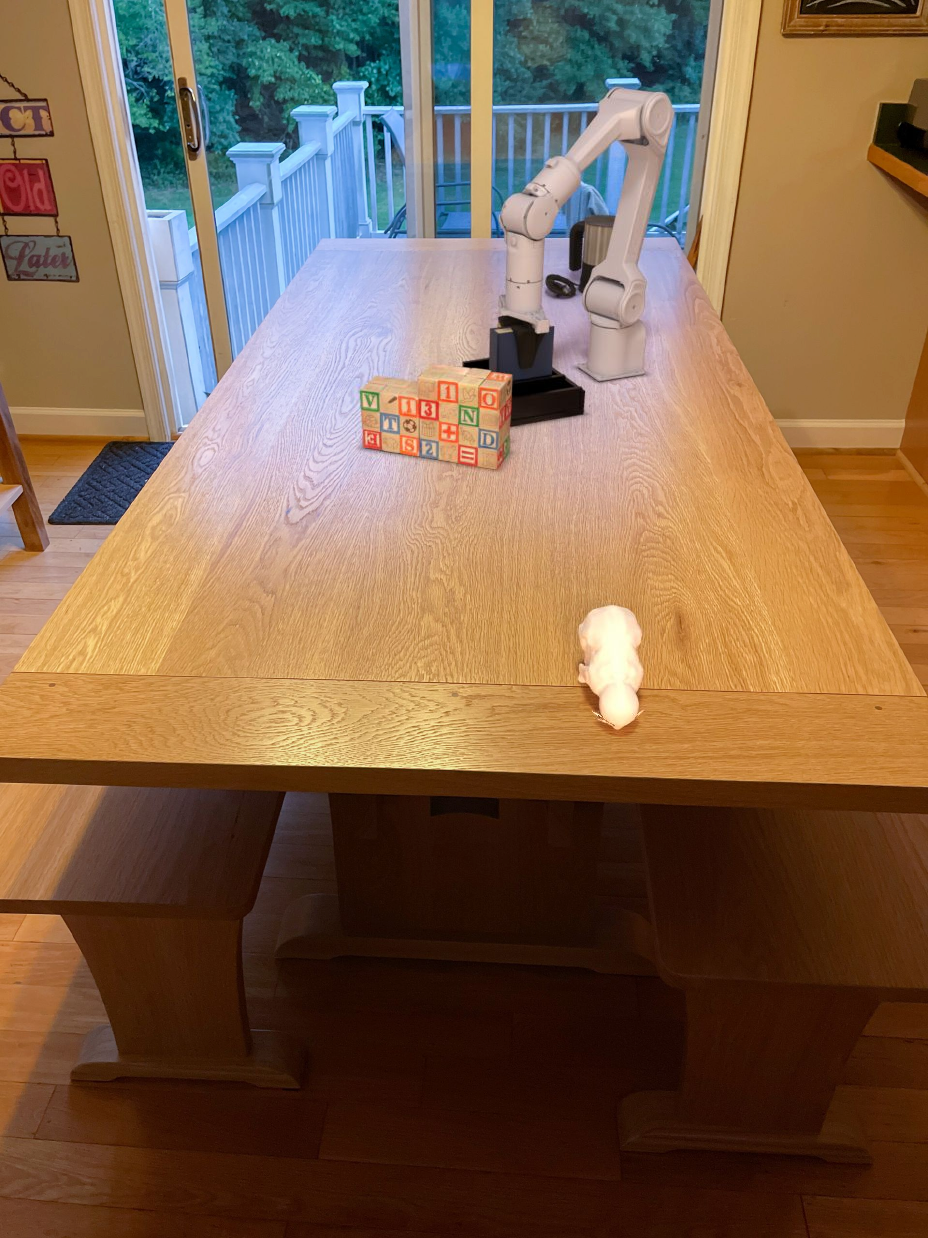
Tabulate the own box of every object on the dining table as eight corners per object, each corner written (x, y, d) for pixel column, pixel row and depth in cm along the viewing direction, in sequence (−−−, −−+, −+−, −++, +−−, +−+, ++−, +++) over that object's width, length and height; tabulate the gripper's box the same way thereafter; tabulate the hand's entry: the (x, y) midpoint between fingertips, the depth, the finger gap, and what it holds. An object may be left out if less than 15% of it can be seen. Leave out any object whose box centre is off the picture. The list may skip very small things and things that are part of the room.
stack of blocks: (361, 448, 145) (357, 369, 138) (378, 432, 150) (374, 354, 143) (498, 470, 139) (500, 388, 132) (510, 452, 144) (513, 372, 137)
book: (543, 368, 161) (546, 320, 156) (551, 374, 158) (554, 326, 154) (488, 376, 158) (489, 328, 153) (496, 383, 155) (497, 333, 151)
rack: (533, 375, 170) (534, 350, 167) (583, 414, 156) (585, 387, 153) (459, 386, 165) (459, 361, 163) (504, 427, 151) (505, 400, 149)
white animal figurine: (642, 596, 96) (663, 679, 87) (632, 659, 102) (651, 744, 93) (579, 596, 96) (593, 680, 87) (572, 659, 102) (585, 744, 92)
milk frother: (628, 288, 213) (635, 217, 205) (596, 306, 202) (602, 232, 194) (570, 278, 219) (575, 209, 211) (537, 295, 208) (540, 223, 200)
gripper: (481, 268, 153) (480, 352, 161) (521, 293, 142) (517, 382, 150) (521, 264, 156) (518, 347, 163) (563, 288, 145) (558, 376, 152)
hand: (521, 363), depth 157 cm, fingers closed on book, 3 cm apart
